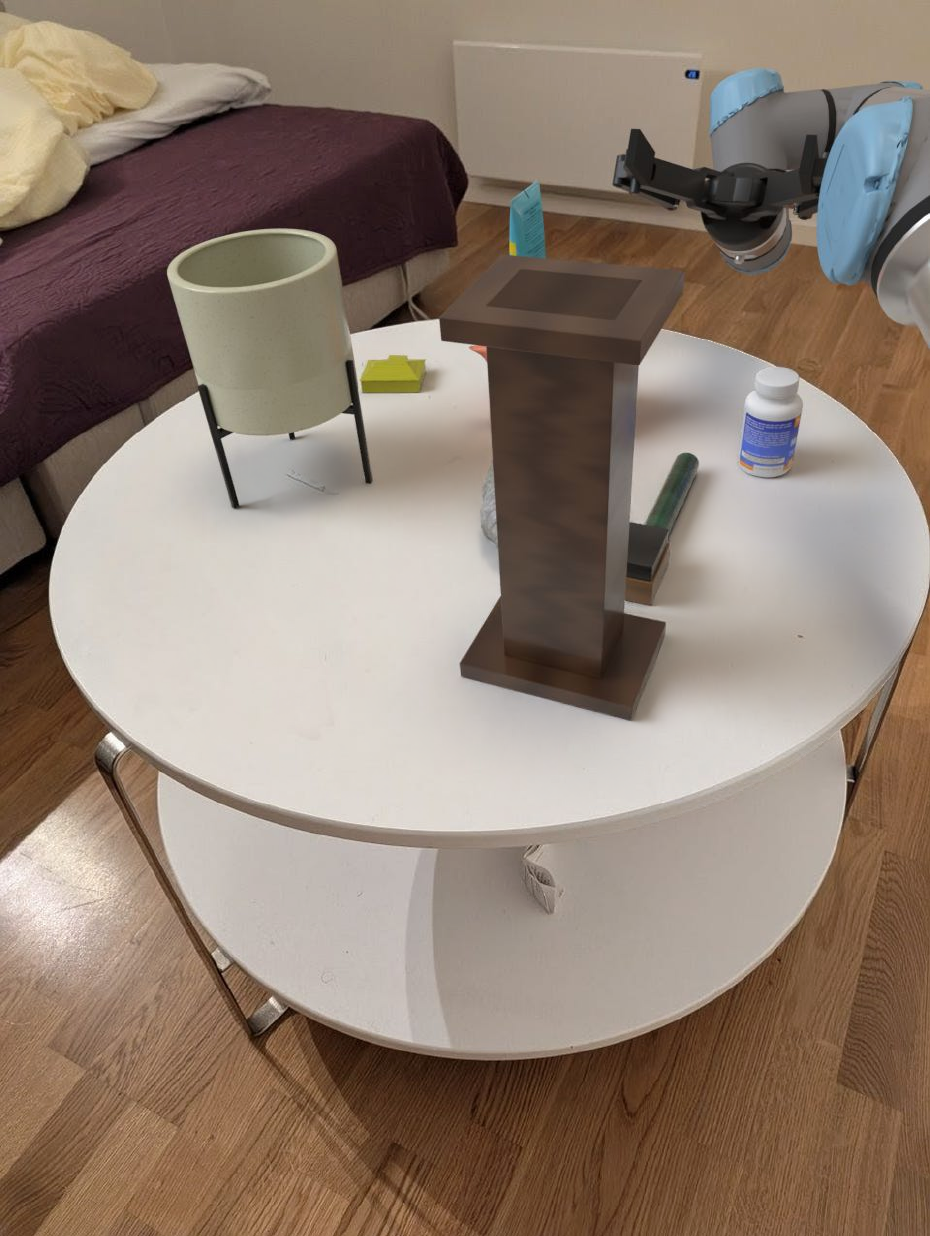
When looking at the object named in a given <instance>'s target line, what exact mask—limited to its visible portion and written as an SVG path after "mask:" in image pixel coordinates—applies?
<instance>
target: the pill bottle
mask: <svg viewBox="0 0 930 1236" xmlns="http://www.w3.org/2000/svg"><path fill="white" fill-rule="evenodd" d="M799 385H800V375H799V373H797V371H795V370H793V369H791V368H787V367H783V366H769V367H765V368H762V369H760V370H759V371H757V372H756V374H755V379H754V384H753V389H754V390H751V392H749V393H748V394H747V396H746V398H745V399H744V406H743V415H742V422H741V430H740V437H739V444H738V445H739V446H738V452H737V464H738V467H739V468H740V469H741V470H742V471H743V472H745V473H747V474H748V475H750V476H754V477H759V478H776V477H780V476H782V475H783V476H784V475H786V474H787V473H788V472H789V471H790V470H791V468H792V466H793V463H794V458H795V453H796V446H797V441H798V436H799V430H800V424H801V419H802V413H803V408H804V402H803V399H802V397H801V396H800V395H799V394H798V391H799Z"/></svg>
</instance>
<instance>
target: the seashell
mask: <svg viewBox="0 0 930 1236" xmlns="http://www.w3.org/2000/svg"><path fill="white" fill-rule="evenodd" d="M482 499H483V500H482V503H481V507H480V518H481V519H480V523H481V525H480V527H481V530H482V532H483V535H484V536H485V537H486V539H487V540H488V541H490V542H492V543H494V544H495V545H496V548H497V549H498V540H497V522H496V505H495V488H494V471H493V460H491V462H490V465H489V469H488V472H487V474H486V476H485V478H484V482H483V483H482Z"/></svg>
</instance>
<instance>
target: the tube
mask: <svg viewBox="0 0 930 1236" xmlns="http://www.w3.org/2000/svg"><path fill="white" fill-rule="evenodd" d="M540 185H541V184H540V181H539V180H535V181H534V182H533V183H531V185H529V186H528V187H527V188H525V189H524V190H523V191H521V192H520V193H518V194H517V195H516V196H515V197H513V198H512V199H511V200H510V211H509V212H510V213H509V240H508V241H509V245H508V246H509V249H508V250H509V255H512V256H523V257H535V258H546V259H547V257H546V255H547V254H546V238H545V225H544V224H545V223H544V222H545V221H544V212H543V200H542V194H541V186H540Z"/></svg>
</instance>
